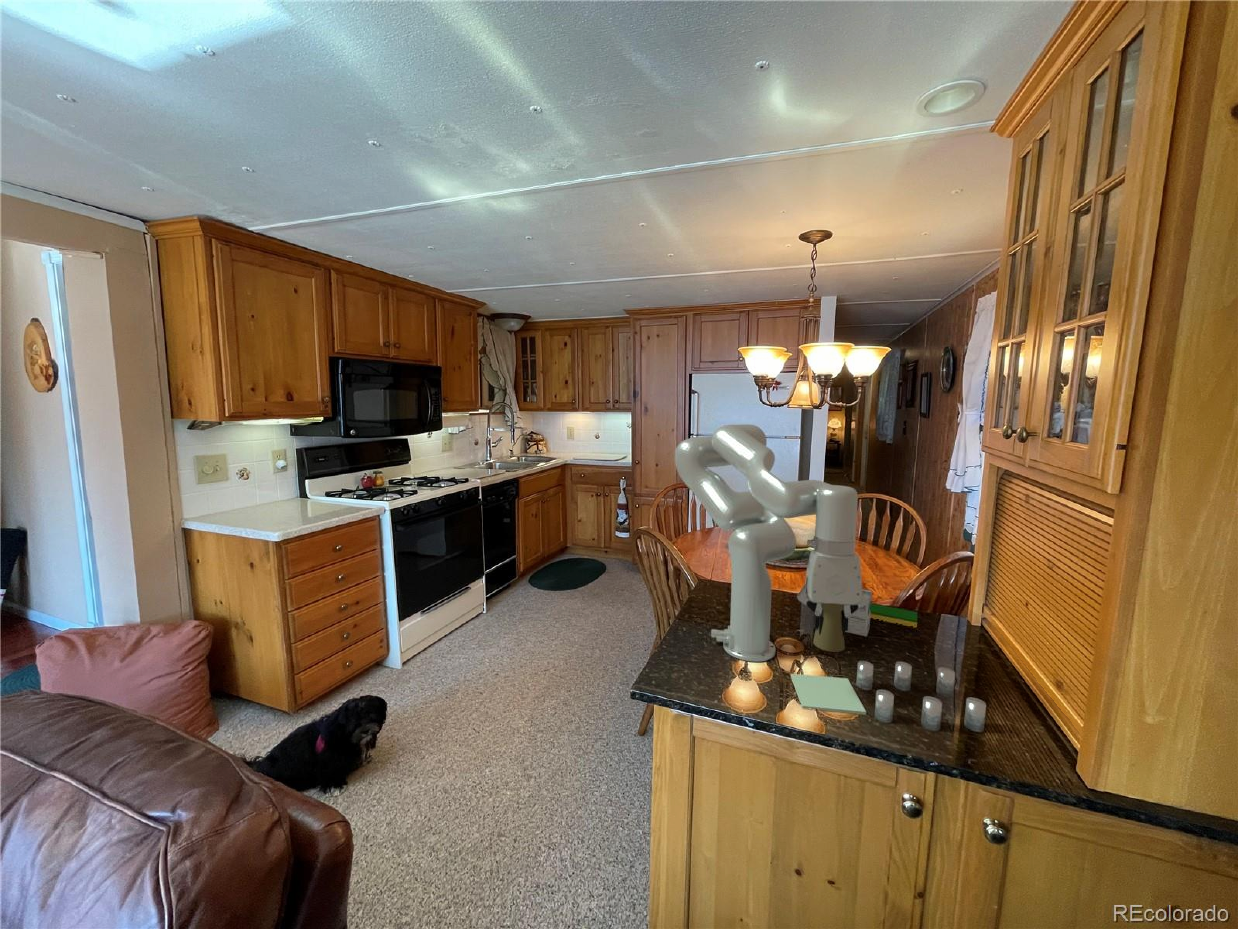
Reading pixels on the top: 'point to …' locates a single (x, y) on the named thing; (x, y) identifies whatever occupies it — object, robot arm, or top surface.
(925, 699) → the spacer field
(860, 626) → the light bulb box
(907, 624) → the dish sponge
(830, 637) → the olive rounded piece
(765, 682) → the top surface
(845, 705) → the mat
